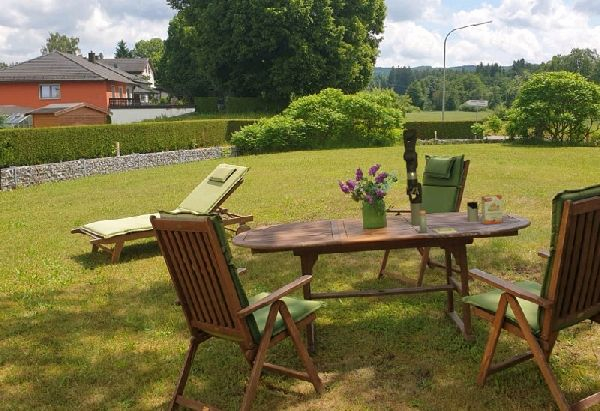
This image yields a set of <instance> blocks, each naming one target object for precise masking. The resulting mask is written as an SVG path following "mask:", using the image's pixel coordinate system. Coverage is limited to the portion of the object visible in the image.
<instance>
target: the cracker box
mask: <svg viewBox="0 0 600 411" xmlns="http://www.w3.org/2000/svg"><path fill="white" fill-rule="evenodd" d="M480 198H481V199H480V200H481V201H480V203H481V204H480V206H481V213H482V214H481V223H482V225H491V224H492V225H493V224H503V196H502V195H501V194H500V195H499V194H495V195H493V194H492V195H481V196H480Z"/></svg>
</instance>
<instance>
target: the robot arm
mask: <svg viewBox="0 0 600 411" xmlns="http://www.w3.org/2000/svg"><path fill="white" fill-rule="evenodd" d="M418 136H419V135H418V131H417V129H416V128H410V129H404V130H402V137H403V146H404V152H403V156H402V158H403V161H405V169H406V180H407V181H406V185H407V186H406V191H405V192H406V196H408V201H409V203H410V205H409V206H410V222H411V226H420V217H419V211H422V210H424V209H423V186H422V183H421V182H419V180H418V173H417V169H418V166H419V162H418V157H419V156H418V155H419V154H418V152H417V151H416V146H417V145H416V144H417V142H418ZM412 195H415V197H413V196H412Z"/></svg>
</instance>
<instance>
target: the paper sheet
mask: <svg viewBox="0 0 600 411" xmlns="http://www.w3.org/2000/svg"><path fill="white" fill-rule="evenodd" d="M432 231H433V232H435V233H437V234H438V233H440V234H453V233H457V230H456V229H454V228H452V227H441V228H433V229H432Z"/></svg>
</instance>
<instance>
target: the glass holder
mask: <svg viewBox="0 0 600 411" xmlns="http://www.w3.org/2000/svg"><path fill="white" fill-rule="evenodd" d="M466 205H467V210H466V212H467V221H466V222H467V223H479V222H480V220H479V218H480V216H482V212H481V213H480V214H479V209H480V207H479V206H481V202H480V203H479V204H478V202H477V201H469V202H467V204H466Z"/></svg>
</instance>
